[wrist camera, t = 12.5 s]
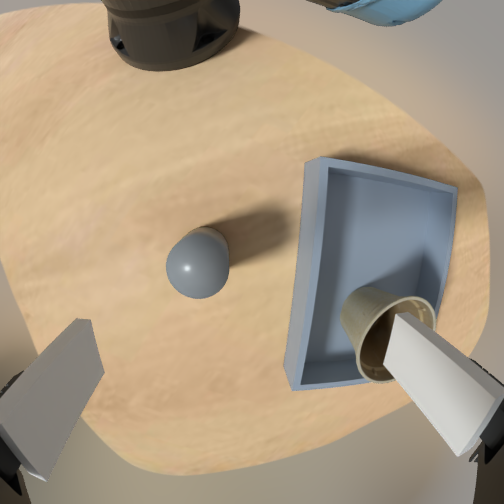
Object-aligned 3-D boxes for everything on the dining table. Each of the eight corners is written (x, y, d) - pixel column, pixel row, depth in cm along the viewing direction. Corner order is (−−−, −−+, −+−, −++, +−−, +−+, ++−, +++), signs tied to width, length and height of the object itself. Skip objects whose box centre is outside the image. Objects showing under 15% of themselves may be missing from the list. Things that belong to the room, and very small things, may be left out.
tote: (304, 163, 27) (320, 156, 22) (431, 186, 29) (457, 187, 24) (283, 366, 32) (291, 390, 27) (400, 355, 33) (418, 372, 28)
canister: (181, 225, 27) (166, 235, 21) (230, 228, 28) (230, 238, 21) (180, 273, 28) (166, 296, 22) (227, 275, 29) (227, 300, 22)
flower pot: (354, 257, 29) (396, 279, 21) (406, 291, 31) (449, 316, 22) (311, 329, 30) (337, 371, 22) (367, 352, 32) (399, 390, 23)
